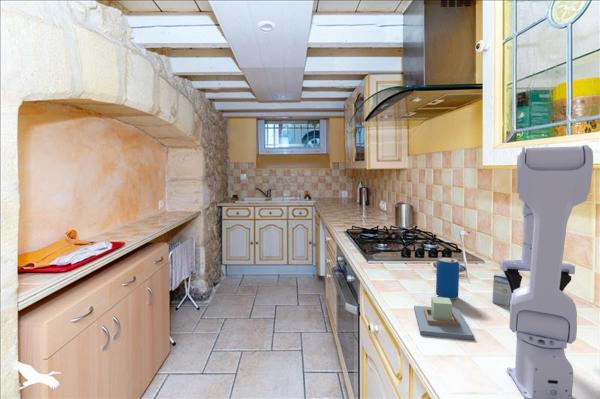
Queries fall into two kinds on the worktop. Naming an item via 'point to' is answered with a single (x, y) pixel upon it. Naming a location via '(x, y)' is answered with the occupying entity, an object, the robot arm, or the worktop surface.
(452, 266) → the beverage can
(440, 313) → the sage block
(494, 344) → the worktop surface
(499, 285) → the medicine box
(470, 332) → the board
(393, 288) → the worktop surface
